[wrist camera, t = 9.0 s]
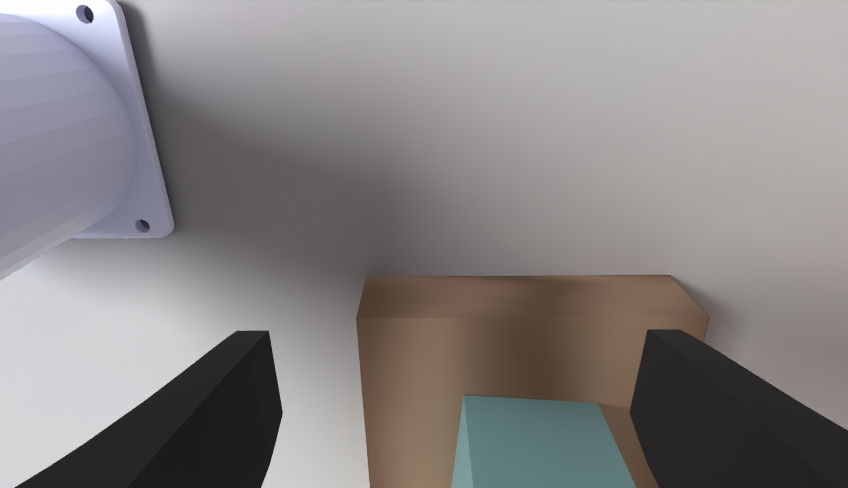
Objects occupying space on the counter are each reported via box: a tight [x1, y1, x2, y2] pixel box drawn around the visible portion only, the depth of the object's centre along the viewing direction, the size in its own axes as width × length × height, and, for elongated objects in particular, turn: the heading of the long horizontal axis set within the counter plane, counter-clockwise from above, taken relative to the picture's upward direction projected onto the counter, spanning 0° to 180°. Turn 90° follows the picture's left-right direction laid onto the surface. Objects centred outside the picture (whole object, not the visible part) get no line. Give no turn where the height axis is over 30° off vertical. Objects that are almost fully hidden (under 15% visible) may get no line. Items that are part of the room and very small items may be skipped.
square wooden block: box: [356, 275, 710, 488], centre depth 21 cm, size 12×12×4 cm
